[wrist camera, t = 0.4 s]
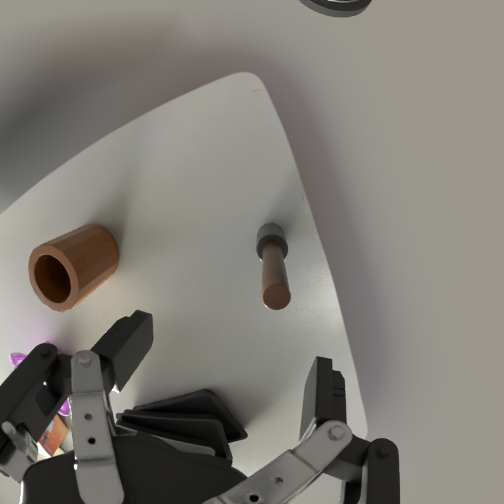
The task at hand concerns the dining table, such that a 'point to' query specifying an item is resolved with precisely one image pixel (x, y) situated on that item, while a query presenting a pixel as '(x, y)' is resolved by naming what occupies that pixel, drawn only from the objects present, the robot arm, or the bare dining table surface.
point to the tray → (186, 423)
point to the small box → (52, 437)
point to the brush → (273, 266)
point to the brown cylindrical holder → (72, 266)
